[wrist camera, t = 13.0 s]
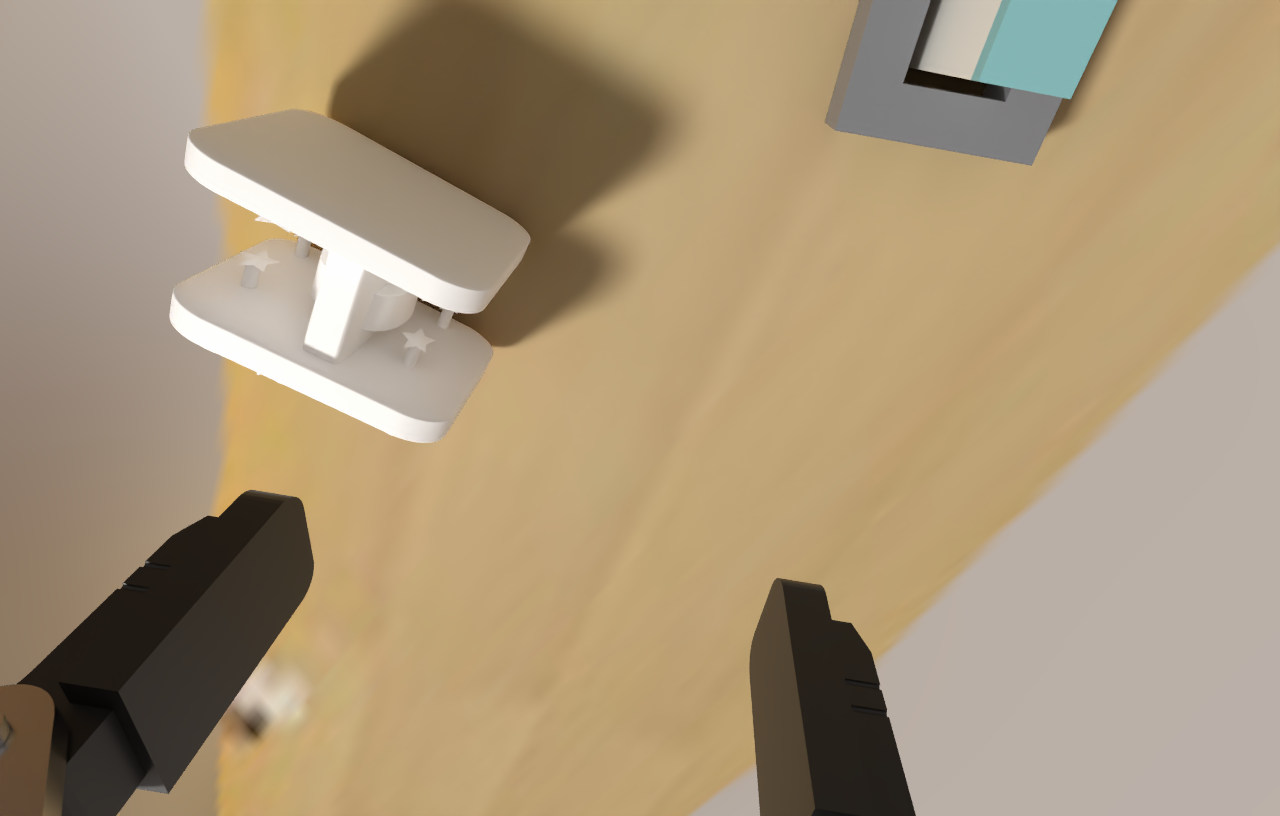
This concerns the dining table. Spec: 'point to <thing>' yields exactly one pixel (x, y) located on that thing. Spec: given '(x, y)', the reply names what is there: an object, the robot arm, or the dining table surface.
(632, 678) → the dining table surface
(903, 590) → the dining table surface
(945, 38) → the plug peg
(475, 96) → the dining table surface
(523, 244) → the cable organizer
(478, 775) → the dining table surface
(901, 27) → the socket board
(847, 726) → the robot arm
